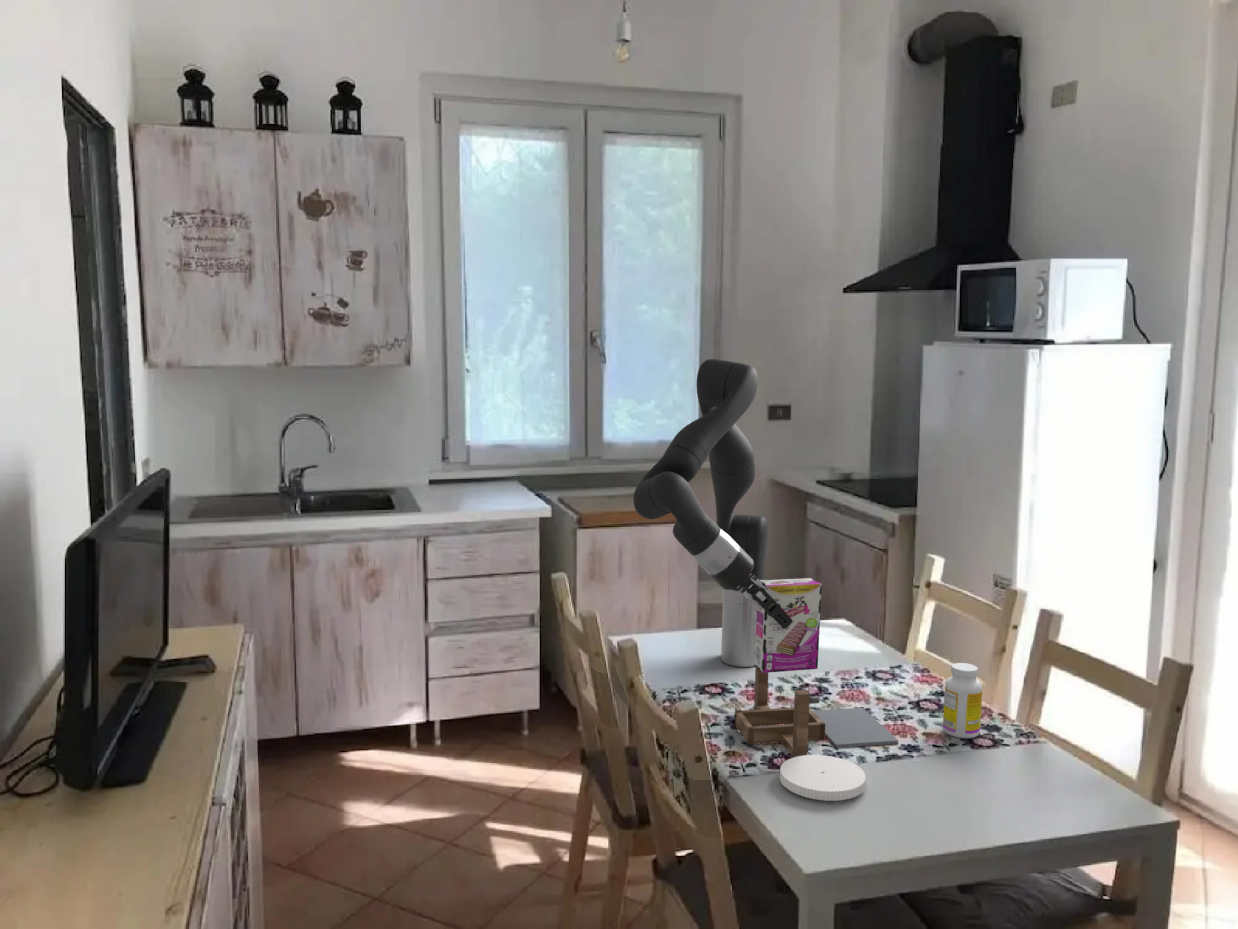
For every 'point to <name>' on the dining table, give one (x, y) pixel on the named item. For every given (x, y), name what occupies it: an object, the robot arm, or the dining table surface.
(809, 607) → the candy bar box
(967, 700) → the supplement bottle
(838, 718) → the slate mat
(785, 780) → the plastic lid
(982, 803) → the dining table surface
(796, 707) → the walnut holder
